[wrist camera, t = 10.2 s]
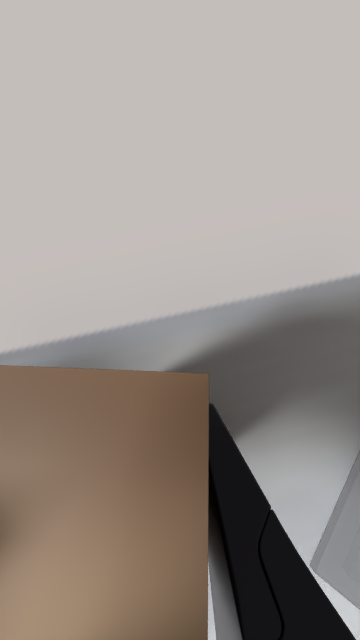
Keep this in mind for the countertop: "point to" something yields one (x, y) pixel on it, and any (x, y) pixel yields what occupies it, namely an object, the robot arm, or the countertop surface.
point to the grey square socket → (342, 542)
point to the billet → (103, 504)
